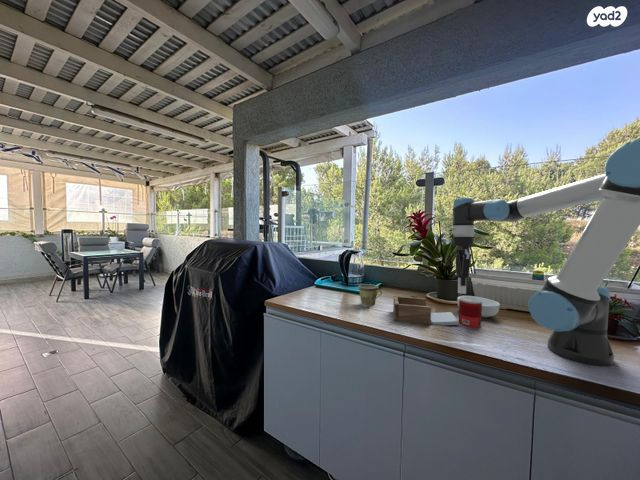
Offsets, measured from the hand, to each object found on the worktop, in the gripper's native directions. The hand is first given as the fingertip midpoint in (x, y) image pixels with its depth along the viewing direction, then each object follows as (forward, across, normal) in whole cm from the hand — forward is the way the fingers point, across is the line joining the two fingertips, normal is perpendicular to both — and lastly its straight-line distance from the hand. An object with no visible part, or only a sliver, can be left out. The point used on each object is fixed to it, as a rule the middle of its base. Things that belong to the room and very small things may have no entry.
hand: (461, 293), depth 107 cm
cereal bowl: (+14, -16, +12) cm, 24 cm away
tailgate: (+13, -2, -7) cm, 14 cm away
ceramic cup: (+13, -18, -37) cm, 43 cm away
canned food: (+14, 0, +3) cm, 14 cm away
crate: (+13, -3, -20) cm, 24 cm away
